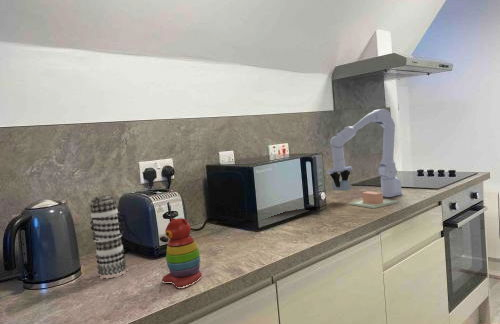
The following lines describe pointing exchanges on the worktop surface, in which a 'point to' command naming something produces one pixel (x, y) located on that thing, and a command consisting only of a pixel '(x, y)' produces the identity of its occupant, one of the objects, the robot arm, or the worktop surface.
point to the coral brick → (372, 197)
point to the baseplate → (371, 205)
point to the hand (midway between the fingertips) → (341, 186)
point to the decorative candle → (107, 235)
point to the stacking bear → (181, 254)
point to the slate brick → (342, 185)
